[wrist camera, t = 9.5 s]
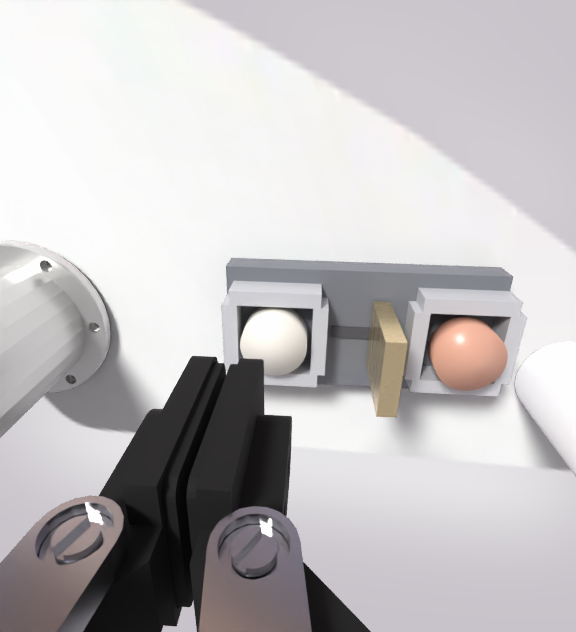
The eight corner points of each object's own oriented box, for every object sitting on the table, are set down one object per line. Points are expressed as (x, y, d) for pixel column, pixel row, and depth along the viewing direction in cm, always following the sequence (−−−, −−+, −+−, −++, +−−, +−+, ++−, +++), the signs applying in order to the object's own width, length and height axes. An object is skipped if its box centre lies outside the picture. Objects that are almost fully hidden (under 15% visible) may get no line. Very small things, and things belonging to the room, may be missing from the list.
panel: (235, 366, 34) (225, 394, 31) (231, 258, 31) (219, 275, 27) (482, 378, 33) (502, 408, 30) (508, 267, 30) (535, 287, 26)
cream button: (245, 359, 31) (240, 374, 29) (244, 303, 29) (239, 314, 27) (306, 362, 31) (305, 377, 29) (308, 305, 29) (308, 317, 27)
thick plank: (366, 365, 31) (376, 416, 25) (372, 301, 29) (385, 342, 23) (382, 365, 31) (396, 417, 25) (390, 302, 29) (407, 343, 23)
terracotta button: (422, 372, 30) (429, 389, 28) (432, 314, 28) (441, 327, 26) (487, 376, 29) (499, 392, 28) (502, 317, 28) (515, 331, 26)
